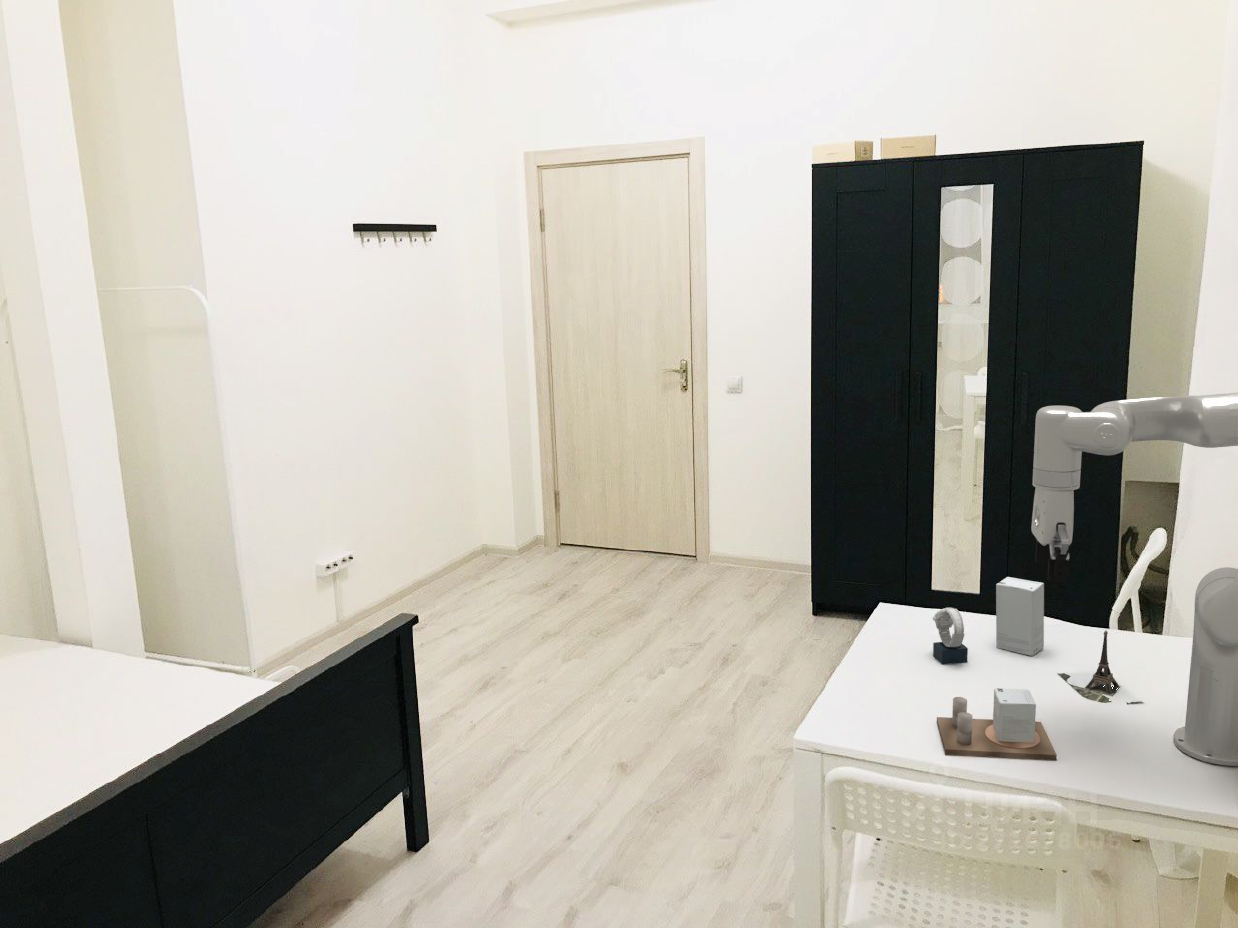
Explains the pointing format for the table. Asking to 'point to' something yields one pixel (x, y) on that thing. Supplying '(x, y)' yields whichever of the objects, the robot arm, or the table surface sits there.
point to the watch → (950, 647)
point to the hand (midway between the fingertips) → (1051, 571)
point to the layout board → (987, 737)
